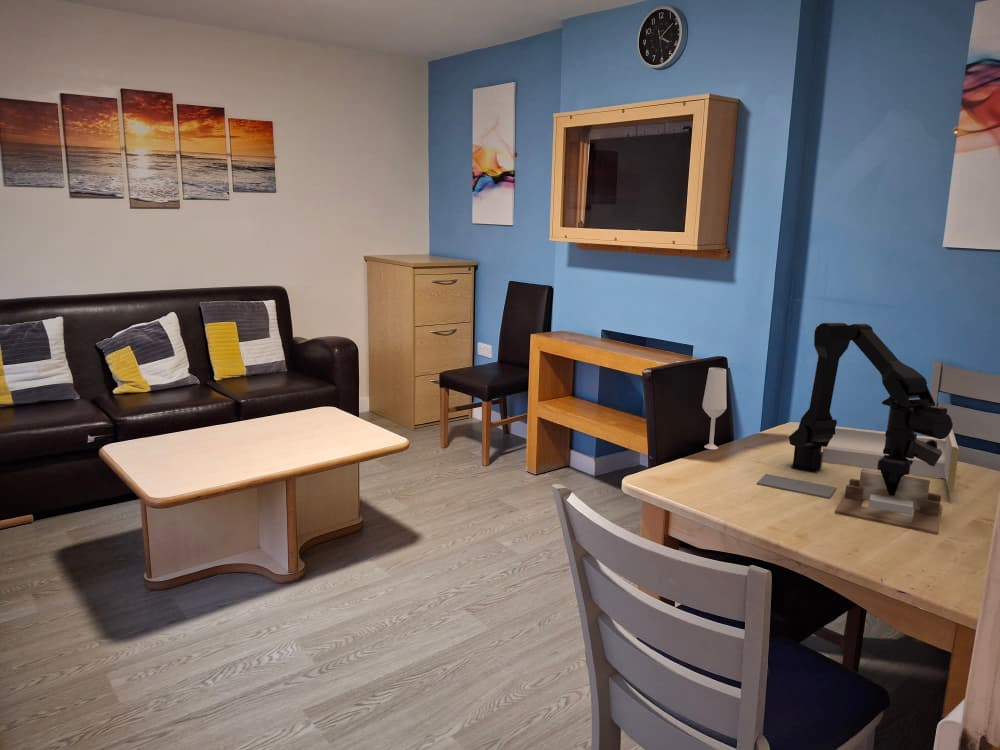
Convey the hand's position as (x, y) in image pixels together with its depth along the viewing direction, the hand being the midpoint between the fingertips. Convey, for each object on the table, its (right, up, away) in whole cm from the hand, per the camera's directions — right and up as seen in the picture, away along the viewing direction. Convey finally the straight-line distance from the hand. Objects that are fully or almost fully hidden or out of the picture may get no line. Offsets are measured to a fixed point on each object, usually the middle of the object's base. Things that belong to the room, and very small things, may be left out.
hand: (892, 492), depth 168 cm
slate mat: (-18, 0, +12) cm, 21 cm away
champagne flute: (-30, +5, +42) cm, 52 cm away
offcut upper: (-5, -2, -8) cm, 10 cm away
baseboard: (+22, 0, +17) cm, 28 cm away
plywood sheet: (0, -2, 0) cm, 2 cm away
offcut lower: (-6, -4, -8) cm, 10 cm away
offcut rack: (-2, -3, -3) cm, 5 cm away
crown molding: (+13, +1, +28) cm, 31 cm away
